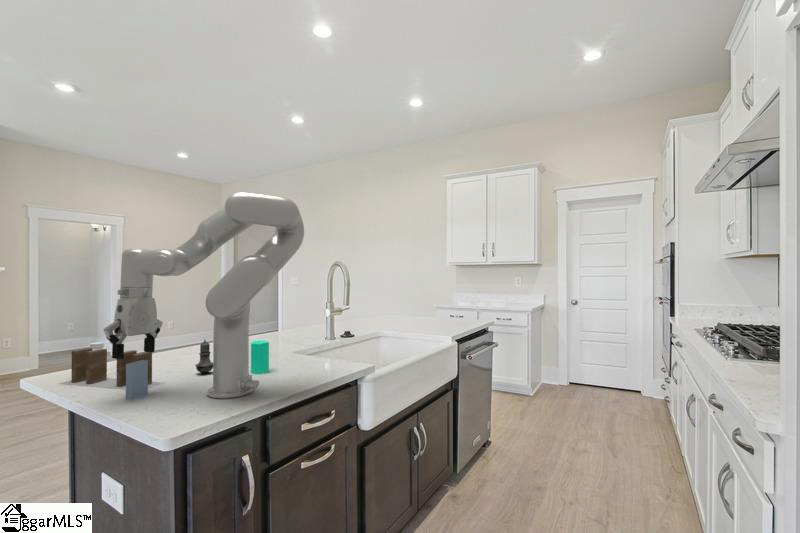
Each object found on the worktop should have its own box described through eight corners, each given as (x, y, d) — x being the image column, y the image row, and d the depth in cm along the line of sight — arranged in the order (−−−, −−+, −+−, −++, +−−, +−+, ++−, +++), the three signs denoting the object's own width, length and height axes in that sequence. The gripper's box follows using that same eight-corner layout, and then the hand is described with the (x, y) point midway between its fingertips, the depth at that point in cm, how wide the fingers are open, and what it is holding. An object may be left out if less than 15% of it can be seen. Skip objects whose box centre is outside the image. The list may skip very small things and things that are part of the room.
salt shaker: (206, 377, 133) (206, 341, 133) (191, 376, 134) (191, 340, 134) (218, 373, 139) (218, 338, 139) (203, 372, 140) (203, 337, 140)
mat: (165, 383, 125) (165, 382, 125) (139, 392, 117) (139, 391, 117) (86, 377, 133) (86, 376, 133) (57, 384, 125) (57, 383, 125)
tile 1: (151, 383, 124) (152, 351, 124) (137, 388, 119) (137, 354, 119) (147, 383, 125) (147, 351, 125) (132, 387, 120) (132, 354, 120)
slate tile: (147, 395, 113) (147, 360, 114) (131, 401, 108) (131, 364, 109) (142, 395, 114) (142, 360, 114) (125, 400, 109) (125, 364, 109)
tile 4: (106, 379, 129) (106, 348, 129) (90, 384, 124) (90, 351, 124) (102, 379, 129) (102, 348, 129) (86, 383, 124) (86, 351, 124)
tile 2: (136, 382, 126) (136, 350, 126) (121, 387, 121) (121, 353, 121) (131, 382, 126) (132, 350, 126) (116, 386, 121) (116, 353, 121)
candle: (251, 370, 142) (251, 336, 142) (269, 369, 144) (269, 335, 144) (250, 374, 136) (250, 339, 136) (268, 373, 138) (268, 338, 138)
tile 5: (92, 378, 130) (92, 348, 130) (75, 383, 125) (76, 351, 125) (88, 378, 131) (88, 347, 131) (71, 382, 126) (71, 350, 126)
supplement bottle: (92, 374, 137) (93, 344, 137) (83, 373, 139) (83, 343, 139) (110, 371, 142) (110, 342, 142) (100, 369, 144) (100, 341, 144)
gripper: (118, 295, 102) (115, 362, 102) (172, 292, 119) (170, 350, 119) (95, 294, 104) (92, 360, 104) (152, 291, 121) (149, 348, 120)
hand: (134, 355), depth 111 cm, fingers open, 9 cm apart
